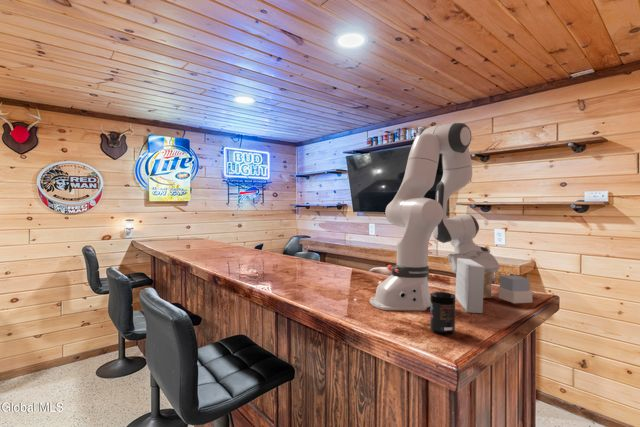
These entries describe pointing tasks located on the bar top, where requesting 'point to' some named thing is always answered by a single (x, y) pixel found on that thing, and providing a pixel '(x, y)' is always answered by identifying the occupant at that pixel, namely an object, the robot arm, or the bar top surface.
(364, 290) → the bar top surface
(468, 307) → the skincare box
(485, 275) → the maple pillar
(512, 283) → the top block
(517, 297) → the base block
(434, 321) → the supplement container
